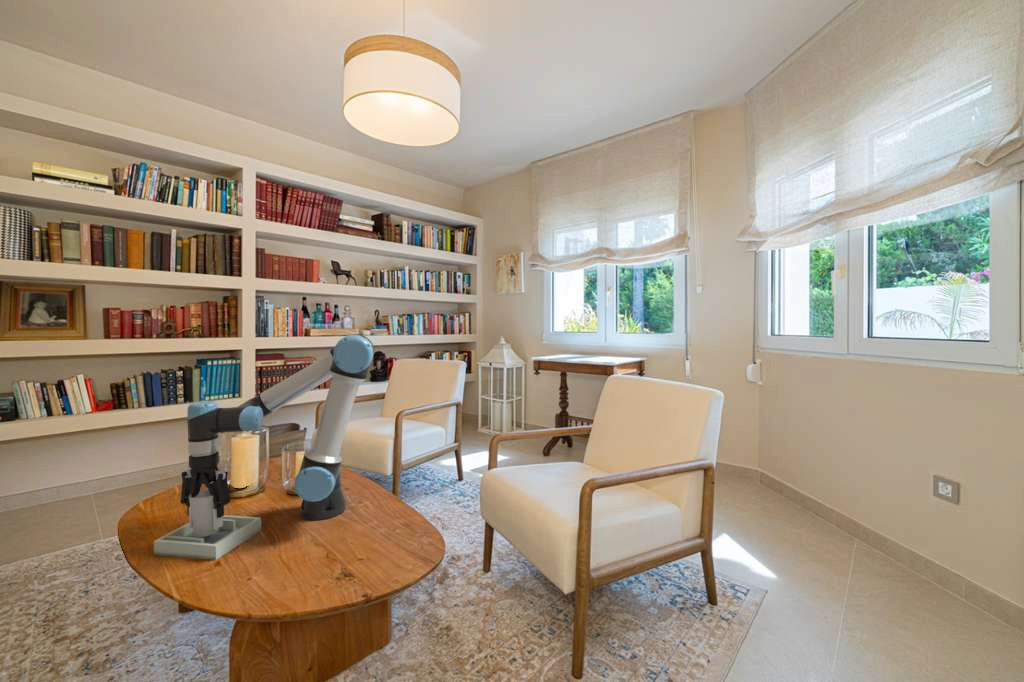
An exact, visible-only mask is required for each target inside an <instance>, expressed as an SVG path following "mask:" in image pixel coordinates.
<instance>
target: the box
mask: <svg viewBox="0 0 1024 682" xmlns="http://www.w3.org/2000/svg"><path fill="white" fill-rule="evenodd" d="M222 518H223V526H221V527H219V530H218V531H217V532H216V533H214V534H211V535H208V536H204V537H195V536H194V533H193V530H194V529H193V527H192V528H190V527H189V522H188V523H185V524H184V525H181V526H180V527H179V528H176V529H174V530H172V531H171V532H168V533H166V534H165V535H163V536H160V537H159V538H157V539H155V540H154V541H153V555H155V556H167V557H175V558H176V557H178V558H188V559H203V560H213V561H217V560H218V559H219V558H221V557H223V556H224V555H225V554H227V553H229V552H230V551H232V550H234V549H235V548H237V546H239V545H241V544H242V543H244V542H245V541H247V540H248V539H250V538H252V537H253V536H254V535H256V534H257V533H259V532H260V531H262V517H258V516H257V517H254V516H243V515H242V516H241V515H240V516H239V515H226V514H224V516H222Z"/></svg>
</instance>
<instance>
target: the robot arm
mask: <svg viewBox="0 0 1024 682" xmlns="http://www.w3.org/2000/svg"><path fill="white" fill-rule="evenodd" d="M374 353H375V347H374V344H373V342H372V341H371V340H370V339H369V338H368V337H367V336H365V335H363V334H358V333H357V334H349V335H345V336H344V337H342V338H340V340H339V341H337V343H336V345H334V347H332V348H331V349H329V350H328V354H327V355H325V356H324V357H322V358H319V359H318V360H316V361H315V362H313V363H311V364H310V365H308V366H305V367H304V368H302V369H301V370H299V371H297V372H296V373H293V374H292V375H290V376H288V377H286V378H285V379H283V380H282V381H280V382H278V383H276V384H275V385H273V386H271V387H269V388H268V389H266V390H264V391H262V392H261V393H259V394H257V395H255V396H254V397H252V398H250V399H248V400H246V401H244V403H241V404H240V405H238V406H236V407H234V406H233V407H219V405H218V403H217V401H213V400H212V401H210V400H208V401H207V400H205V401H204V400H203V401H196V402H193V403H190V404H189V405H188V406H187V416H186V422H187V423H186V424H187V425H186V426H187V450H188V454H189V456H188V467H189V468H190V469H187V470H185V471H181V475H180V476H181V479H182V480H181V481H182V483H181V494H180V504H181V505H183V504H184V505H186V507H187V509H186V510H187V515H188V521H189V522H188V523H189V527H190V528H192V527H193V521H192V513H191V507H190V501H189V495H190V494H192V497H195V496H197V495H198V494H199V491H200V490H202V489H201V488H202V485H205V486H204V487H206V489H209V492H210V494H211V496H212V495H213V502H214V505H215V507H214V508H213V529H214V530H216V529H217V528H219V527H221V526H223V518H222V516H224V515H225V506H226V505H228V504H230V503H231V498H230V491H229V485H228V483H227V475H228V471H227V470H225V471H221V470H219V468H218V465H219V463H220V452H219V434H222V433H236V432H237V433H238V432H241V433H242V432H246V433H247V432H251V431H252V432H253V431H258V430H260V429H261V428H262V427H263V426H262V425H263V422H264V418H265V417H267V416H269V415H271V414H272V413H273V412H276V411H277V410H279V409H280V408H282V407H284V406H286V405H287V404H290V403H291V402H293V401H294V400H296V399H298V398H299V397H301V396H303V395H305V394H306V393H308V392H310V391H312V390H314V389H315V388H316V387H318V386H320V385H322V384H323V383H325V382H327V381H328V380H330V379H331V382H330V384H329V385H330V386H329V389H328V390H327V391H328V392H327V395H326V398H325V401H324V405H323V409H322V412H321V415H320V419H319V421H318V425H317V428H316V432H315V435H314V439H313V442H312V445H311V447H309V448H306V449H305V450H304V455H303V458H302V460H301V461H302V462H301V464H300V467H299V471H298V473H297V475H296V476H295V478H294V485H293V487H294V491H295V493H296V495H298V497H299V498H301V500H302V501H301V505H300V508H299V509H300V510H299V511H300V512H299V513H300V517H301V518H302V519H305V520H311V521H318V520H319V521H321V520H326V519H330V518H333V517H337V516H339V515H341V514H342V513H344V512H345V511H346V510H347V499H346V497H345V493H344V491H343V488H342V475H341V474H342V473H341V471H342V470H341V468H342V467H341V466H342V465H341V464H342V461H343V457H342V456H341V455H342V453H341V447H342V444H343V441H344V438H345V435H346V430H347V428H348V425H349V424H348V423H349V421H350V417H351V414H352V410H353V406H354V403H355V400H356V397H357V393H358V390H359V386H360V384H361V383H363V382H364V381H366V380H367V377H368V374H369V369H370V367H371V364H372V361H373V359H374V355H375V354H374ZM219 502H220V503H219Z"/></svg>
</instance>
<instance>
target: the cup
mask: <svg viewBox="0 0 1024 682" xmlns="http://www.w3.org/2000/svg"><path fill="white" fill-rule="evenodd" d="M189 501H190V507H191V513H192V521H193V529H194V530H193V533H194V536H195V537H204V536H208V535H211V534H214V533H216V532H217V531H218V530H219V528H217V529H216V530H214V529H213V508H214V507H215V505H214V502H213V495H212V496H211V494H210V492H209V489H208V488H206V489H205V488H204V489H200V491H199V494H198V495H197V496H195V497H192V494H190V495H189ZM219 503H220V502H219Z"/></svg>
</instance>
